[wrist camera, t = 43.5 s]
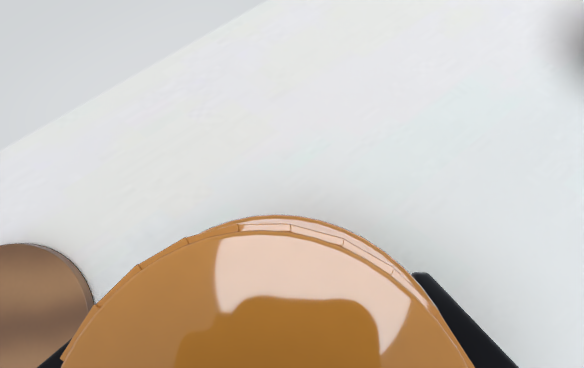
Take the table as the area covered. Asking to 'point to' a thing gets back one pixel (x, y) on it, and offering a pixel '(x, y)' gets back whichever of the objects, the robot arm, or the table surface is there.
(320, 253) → the jar
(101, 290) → the table surface
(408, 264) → the table surface
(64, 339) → the coaster
